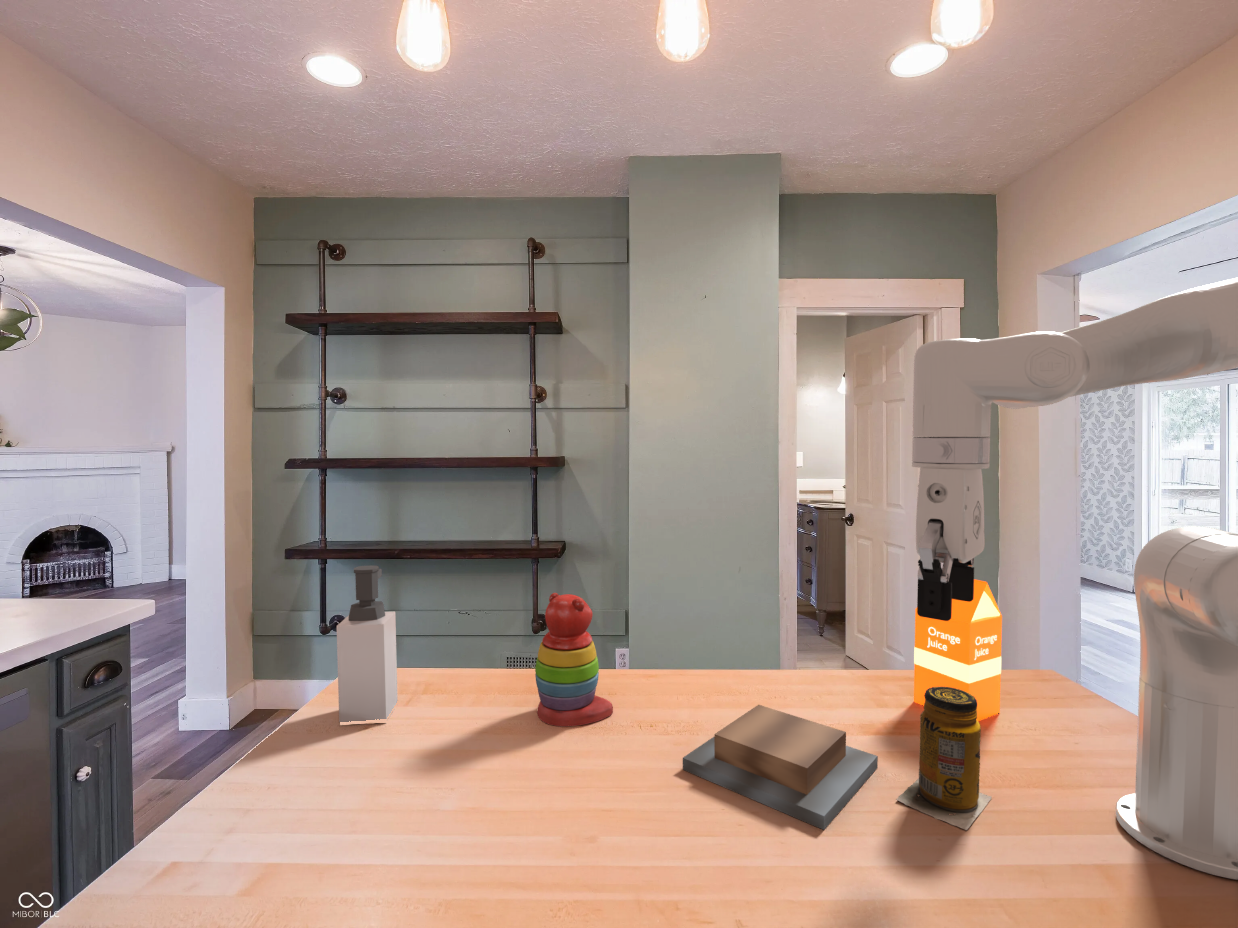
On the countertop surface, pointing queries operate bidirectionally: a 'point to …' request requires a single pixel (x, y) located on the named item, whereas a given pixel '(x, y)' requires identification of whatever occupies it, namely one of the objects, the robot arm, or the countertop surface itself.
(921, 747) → the condiment
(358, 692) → the soap dispenser
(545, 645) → the stacking bear
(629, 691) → the countertop surface
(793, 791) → the plinth
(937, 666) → the orange juice
